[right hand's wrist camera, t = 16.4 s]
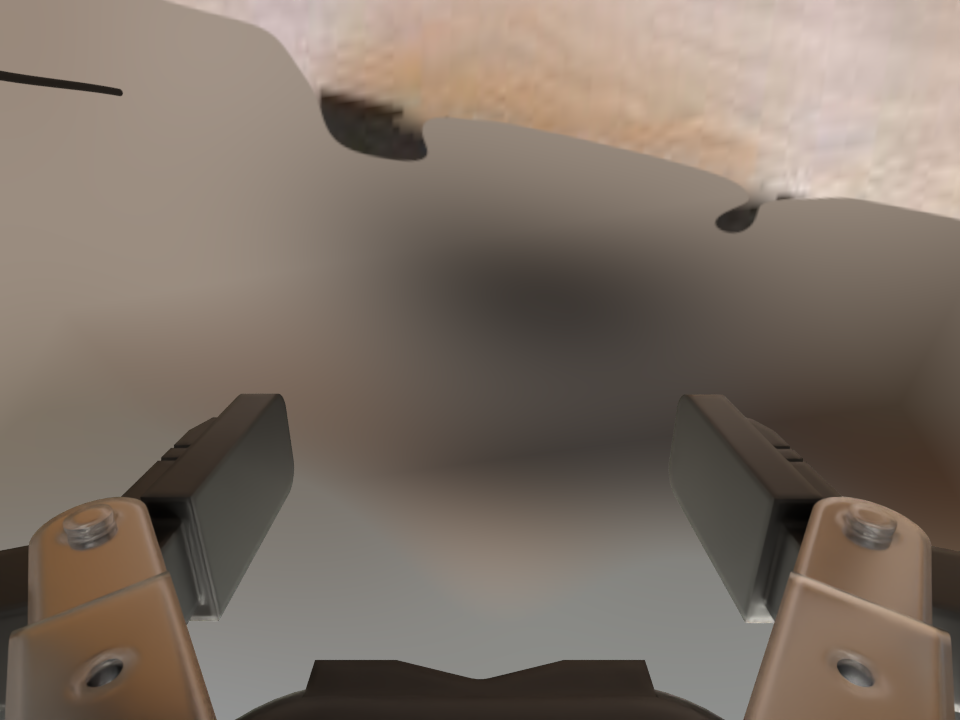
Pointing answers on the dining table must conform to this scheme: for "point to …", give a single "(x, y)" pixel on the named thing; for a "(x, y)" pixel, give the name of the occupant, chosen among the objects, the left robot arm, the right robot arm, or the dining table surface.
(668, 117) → the dining table surface
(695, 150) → the dining table surface
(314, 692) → the right robot arm
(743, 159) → the dining table surface
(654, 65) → the dining table surface
